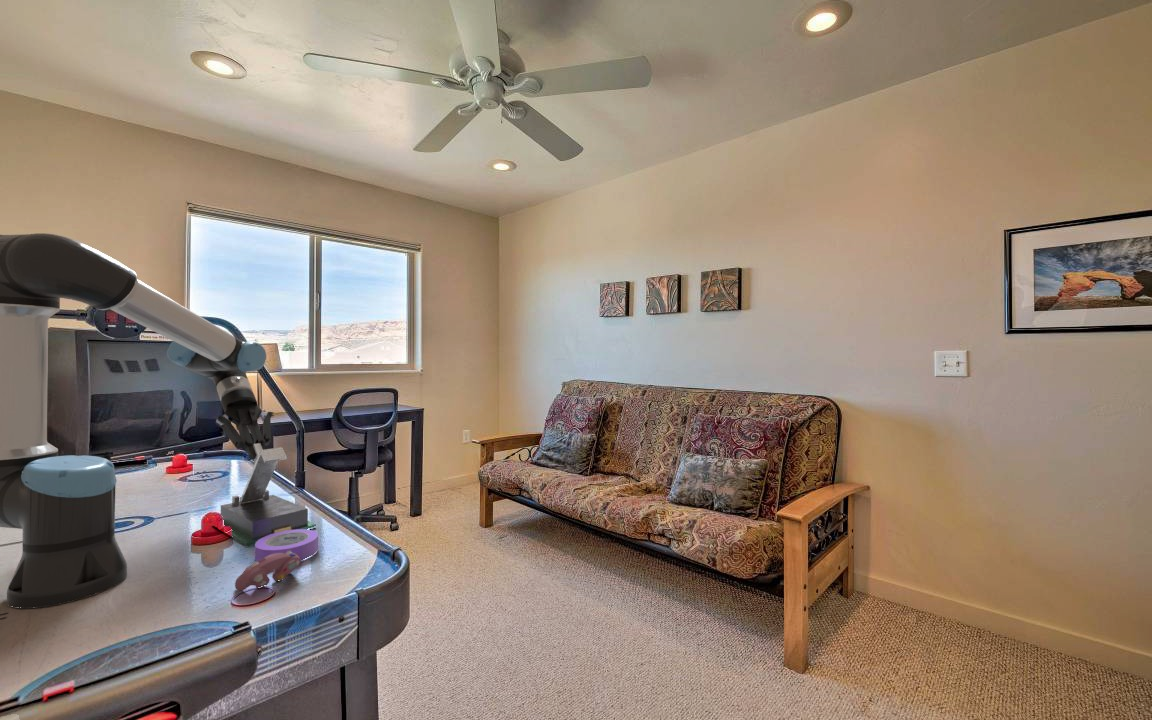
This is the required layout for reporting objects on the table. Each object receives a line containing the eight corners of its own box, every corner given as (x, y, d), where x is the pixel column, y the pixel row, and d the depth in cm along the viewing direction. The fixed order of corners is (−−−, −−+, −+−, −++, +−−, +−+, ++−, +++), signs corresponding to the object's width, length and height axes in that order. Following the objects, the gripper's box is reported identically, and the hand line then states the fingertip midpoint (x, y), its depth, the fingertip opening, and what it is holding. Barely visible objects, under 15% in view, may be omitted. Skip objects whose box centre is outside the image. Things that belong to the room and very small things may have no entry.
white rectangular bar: (243, 513, 122) (238, 499, 124) (264, 508, 126) (259, 495, 128) (265, 461, 114) (259, 447, 116) (287, 457, 118) (281, 445, 120)
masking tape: (313, 563, 100) (313, 544, 100) (247, 571, 96) (247, 552, 96) (321, 543, 111) (322, 526, 111) (262, 549, 107) (262, 532, 107)
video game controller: (241, 604, 86) (251, 573, 84) (230, 587, 88) (239, 556, 86) (298, 582, 94) (307, 554, 93) (286, 567, 96) (295, 539, 95)
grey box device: (212, 525, 121) (212, 498, 121) (277, 511, 133) (277, 485, 133) (246, 546, 108) (247, 515, 108) (315, 528, 120) (316, 500, 120)
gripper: (212, 388, 124) (236, 462, 114) (268, 386, 134) (295, 454, 125) (204, 407, 127) (228, 481, 117) (260, 404, 138) (286, 471, 128)
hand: (262, 467), depth 121 cm, fingers closed
